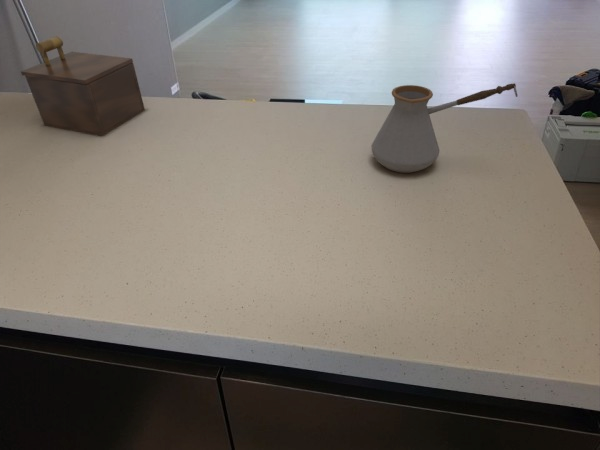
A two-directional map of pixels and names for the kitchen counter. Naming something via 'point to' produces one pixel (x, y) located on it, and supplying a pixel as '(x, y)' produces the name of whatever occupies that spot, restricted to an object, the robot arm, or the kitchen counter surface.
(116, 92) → the chest
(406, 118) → the coffee pot
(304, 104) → the kitchen counter surface
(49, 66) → the lid
